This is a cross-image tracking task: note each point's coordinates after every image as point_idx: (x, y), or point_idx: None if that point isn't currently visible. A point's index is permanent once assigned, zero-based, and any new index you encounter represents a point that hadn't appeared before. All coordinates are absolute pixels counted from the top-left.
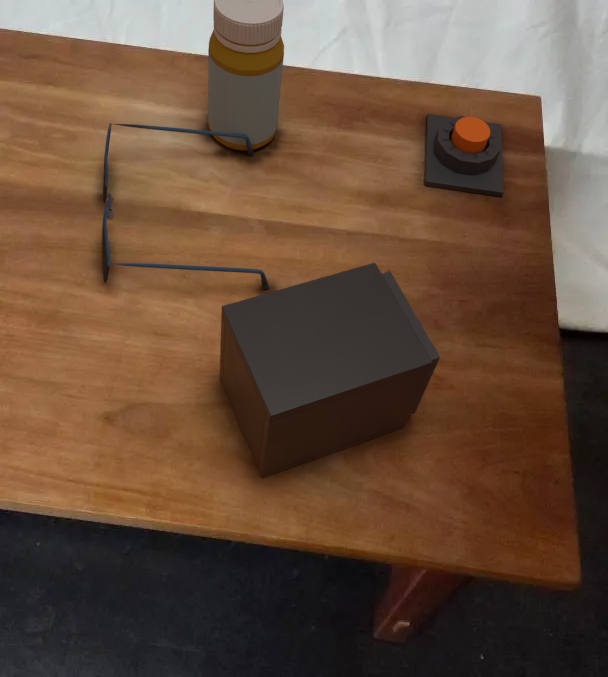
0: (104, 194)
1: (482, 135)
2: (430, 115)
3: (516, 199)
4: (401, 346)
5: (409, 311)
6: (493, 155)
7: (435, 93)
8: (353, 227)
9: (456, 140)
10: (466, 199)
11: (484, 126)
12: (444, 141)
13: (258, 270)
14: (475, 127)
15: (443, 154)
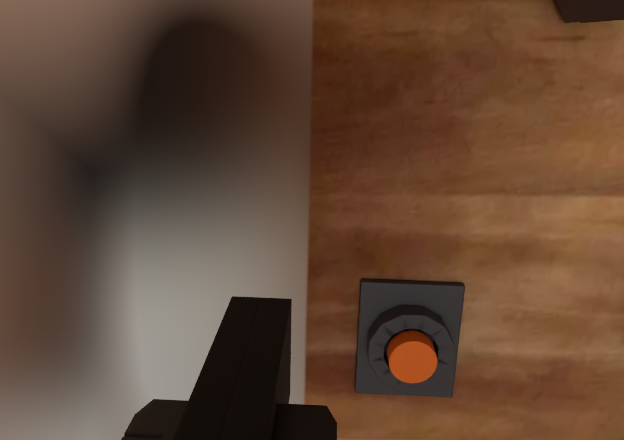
0: None
1: (401, 353)
2: (448, 394)
3: (341, 277)
4: None
5: None
6: (380, 330)
7: (434, 434)
8: (564, 201)
9: (432, 345)
10: (408, 268)
11: (396, 369)
12: (445, 344)
13: None
14: (409, 365)
15: (445, 326)
